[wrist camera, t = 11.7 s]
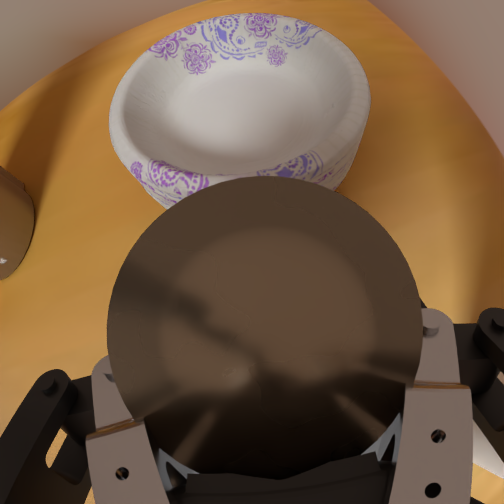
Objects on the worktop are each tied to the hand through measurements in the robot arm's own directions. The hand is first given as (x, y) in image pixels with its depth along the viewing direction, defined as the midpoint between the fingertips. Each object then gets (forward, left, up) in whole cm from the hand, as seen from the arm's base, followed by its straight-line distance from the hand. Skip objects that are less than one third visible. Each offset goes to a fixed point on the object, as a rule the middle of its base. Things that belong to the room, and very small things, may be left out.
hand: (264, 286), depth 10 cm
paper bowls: (-11, +3, -9) cm, 15 cm away
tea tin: (+2, 0, -5) cm, 5 cm away
